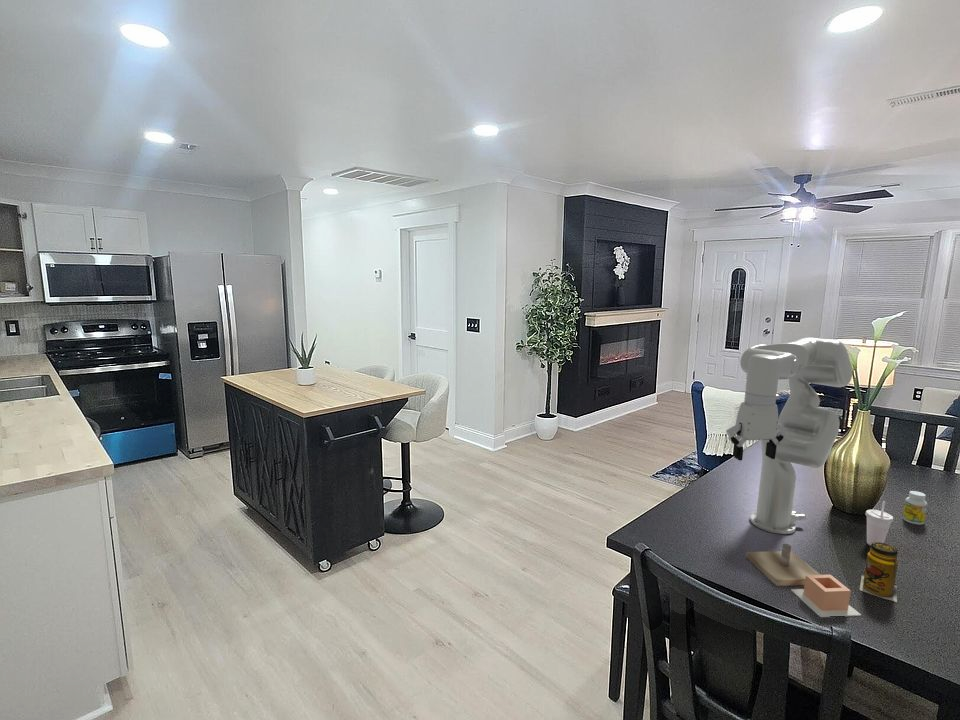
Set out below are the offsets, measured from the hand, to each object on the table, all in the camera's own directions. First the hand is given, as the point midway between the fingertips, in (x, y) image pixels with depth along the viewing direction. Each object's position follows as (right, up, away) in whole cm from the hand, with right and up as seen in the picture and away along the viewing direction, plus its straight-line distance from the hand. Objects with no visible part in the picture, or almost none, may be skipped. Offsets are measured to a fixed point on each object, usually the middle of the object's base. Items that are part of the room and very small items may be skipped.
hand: (753, 458), depth 140 cm
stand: (+5, -29, -6) cm, 30 cm away
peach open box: (+7, -31, -19) cm, 37 cm away
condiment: (+24, -31, -13) cm, 42 cm away
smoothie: (+40, -27, +8) cm, 49 cm away
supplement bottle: (+64, -25, +22) cm, 72 cm away
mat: (+7, -32, -19) cm, 37 cm away
